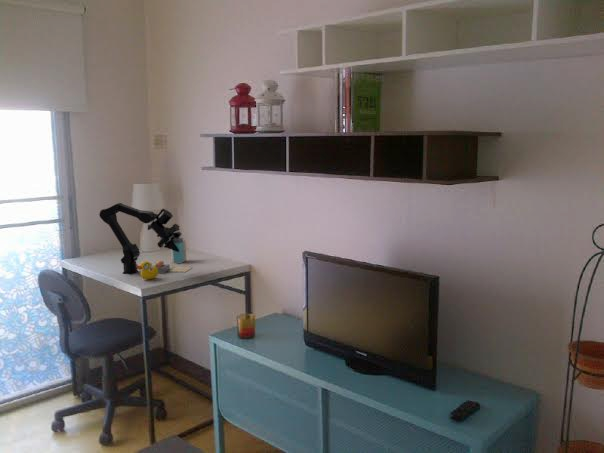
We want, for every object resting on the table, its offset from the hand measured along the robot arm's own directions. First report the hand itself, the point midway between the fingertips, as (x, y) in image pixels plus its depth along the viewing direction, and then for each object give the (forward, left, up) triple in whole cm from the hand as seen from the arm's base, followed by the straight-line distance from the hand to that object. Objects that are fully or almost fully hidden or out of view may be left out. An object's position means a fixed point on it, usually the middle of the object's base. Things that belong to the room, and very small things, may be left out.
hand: (180, 250), depth 300 cm
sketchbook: (-5, +10, -13) cm, 17 cm away
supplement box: (-13, +28, -14) cm, 34 cm away
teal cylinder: (-1, 0, -7) cm, 7 cm away
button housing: (-15, +6, -13) cm, 21 cm away
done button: (-15, +6, -11) cm, 20 cm away
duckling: (-14, -11, -14) cm, 23 cm away
